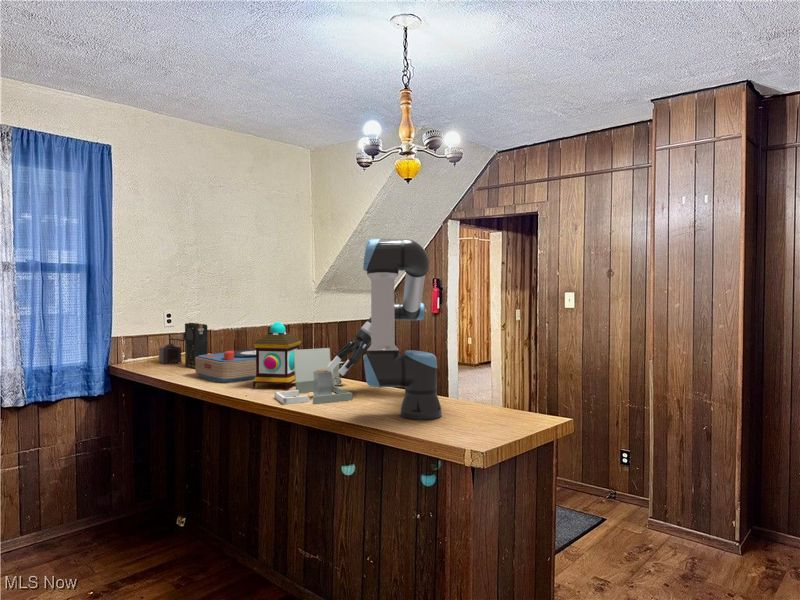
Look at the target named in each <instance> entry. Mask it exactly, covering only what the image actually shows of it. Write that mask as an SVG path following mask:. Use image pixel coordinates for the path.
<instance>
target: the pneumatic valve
mask: <svg viewBox="0 0 800 600" xmlns="http://www.w3.org/2000/svg"><path fill="white" fill-rule="evenodd" d="M330 361H331V362H332V361H333V360H330ZM346 362H347V361H340V362H339V363H338V365H337V366H336V367H335V368H334V369H333V377H334V383H335V384H333V382H332V385H337V386H340V385H339V384H341V385H342V382H343V381H342V378H341V377H346V376H347V374H348V373H349V370H348V371H347V372H346V373H345V374H344V375H343V376H342V375H341V374H340V373H339V372H338V371H339V370H340V369H341V367H342V366H343V365H344V364H345V363H346Z"/></svg>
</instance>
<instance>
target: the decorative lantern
mask: <svg viewBox="0 0 800 600" xmlns="http://www.w3.org/2000/svg"><path fill="white" fill-rule="evenodd" d="M301 343H302V340H301V339H300V338H298V337H297V336H293V335H292V334H290V333H289V332H288V331H286V326H285V325H284V324H283V323H282V322H280V321H276V322H274V323H273V324H272V325H271V326H270V330H269V332H267V334H266V335H265V336H263V337H262V338H258V339H257V340H255V342H254V343H253V347H254V349H256V377H255V379H253V380H252V386H253V388H256V389H257V388H258V384H278V385H285V387H286V391H290V387H291V384H292V383H295V369H294V354H293V350H300V344H301Z"/></svg>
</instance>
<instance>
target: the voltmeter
mask: <svg viewBox="0 0 800 600" xmlns="http://www.w3.org/2000/svg"><path fill="white" fill-rule="evenodd" d="M184 333H185V341H184V351H185V353H184V354H185V355H184V357H185V361H184V362H185V363H184V364H185V367H187V366H188V367H187V368H191V369H194V368H195V370H196V364H195V357H198V356H199V355H206V354H209V353H208V350H209V349H208V347H209V346H208V345H209V344H208V325H207V323H206V324H205V323H197V322H188V323H187V322H185V323H184Z"/></svg>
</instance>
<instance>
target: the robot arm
mask: <svg viewBox="0 0 800 600" xmlns="http://www.w3.org/2000/svg"><path fill="white" fill-rule="evenodd" d="M362 267H363V268H362V269H363V271H364V272H366V276H367V277H368V278H369V279H370V298H371V299H370V300H371V302H370V309H371V310H370V314H371V315H370V317H369V318H368V320H367V321H366V322H365V323H364V324H363V325H362V326H361V327H360V329H359V330H358V331H357V332H356V333H355V335H354V336H355V340H354V339H352V338H351V340H350V341H349V342H348V343H347V344H345V345H344V346H343V347H342V348H341V349H340V350H338V351H337V352H336V356H335V357H334V358H333V360H331V361H332V362H331V363H330V364H329V365H328V366H327V367H328V368H329V369H330V370H331V371H332V370H333V369H334V368H335V367H336V366H337V365H338V363H339V362H342V361H343V358H345V357H346V356H347V355H349V354H351V355H350V357H348V359H347V360H346V361H345V362H346V363H345V364H344V365H343V366H342V367H341V369H340V370H339V371H338V372H339V373H340V374H341V375H342V377H344V376H343V375H344V374H345V373H346V372H347V371H348V372H349V370H350V368H352V366H353V365H355V364H358V363H359V361H360V359H361V357H362V356H363V367H364V373H365V374H364V375H365V380H366V384H367V385H368V386H369V387H371V388H393V387H394V388H397V387H399V388H401V387H402V388H403V387H404V397H403V399H402V403H401V405H400V409H399V413H400V414H399V415H400V417H402V418H405V419H409V420H421V421H423V420H433V419H438V418H441V417H442V410H443V409H442V407H441V406H442V405H441V403H440V400H439V397H438V376H437V375H438V374H437V373H438V371H437V370H438V364H437V363H438V362H437V356H436V355H435V354H433V353H431V352H428V351H427V352H426V351H422V350H421V351H420V350H414V349H413V350H412V349H411V350H410V349H409V350H408V349H407V350H405V351H404V354H400V349H399V348H398V347H397V345H395V341H396V340H395V337H396V335H395V333H396V331H395V329H396V328H395V326H396V325H395V321H422V320H424V319H425V313H426V312H425V311H426V310H425V304H424V303H423V302H422V299H423V292H424V285H425V278H426V275H427V274H428V272H429V271H430V270H429V269H430V258H429V256H428V254H427V252H426V249H424V248H423V247H422V245H420V243H418V242H417V241H415V240H412V239H408V238H401V239H400V238H374V239H373V238H372V239H369V240H368V241H367V242H366V244H365V251H364V258H363V266H362ZM401 271H402V272H403V271H404V272H405V279H404V290H403V300H402V302H395V280H396V279H397V277H398V276H399V272H401ZM365 351H366V353H365V354H364V352H365ZM363 354H364V355H363Z"/></svg>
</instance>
